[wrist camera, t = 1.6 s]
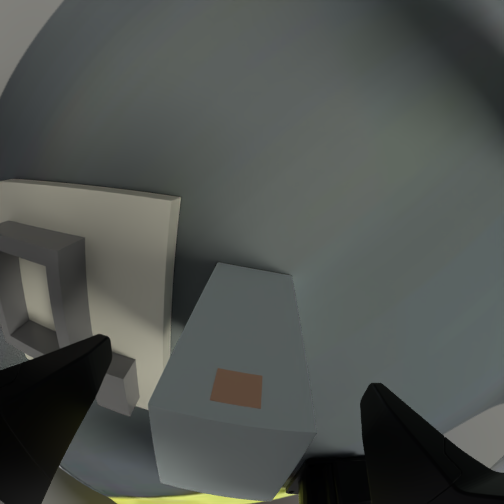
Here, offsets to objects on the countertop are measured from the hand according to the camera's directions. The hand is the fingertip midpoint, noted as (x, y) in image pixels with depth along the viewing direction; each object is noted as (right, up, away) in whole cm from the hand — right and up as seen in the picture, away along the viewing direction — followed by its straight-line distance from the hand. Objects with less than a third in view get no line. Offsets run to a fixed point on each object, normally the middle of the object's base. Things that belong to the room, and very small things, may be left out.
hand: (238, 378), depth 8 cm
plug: (0, +1, +4) cm, 5 cm away
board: (-9, +2, +5) cm, 10 cm away
